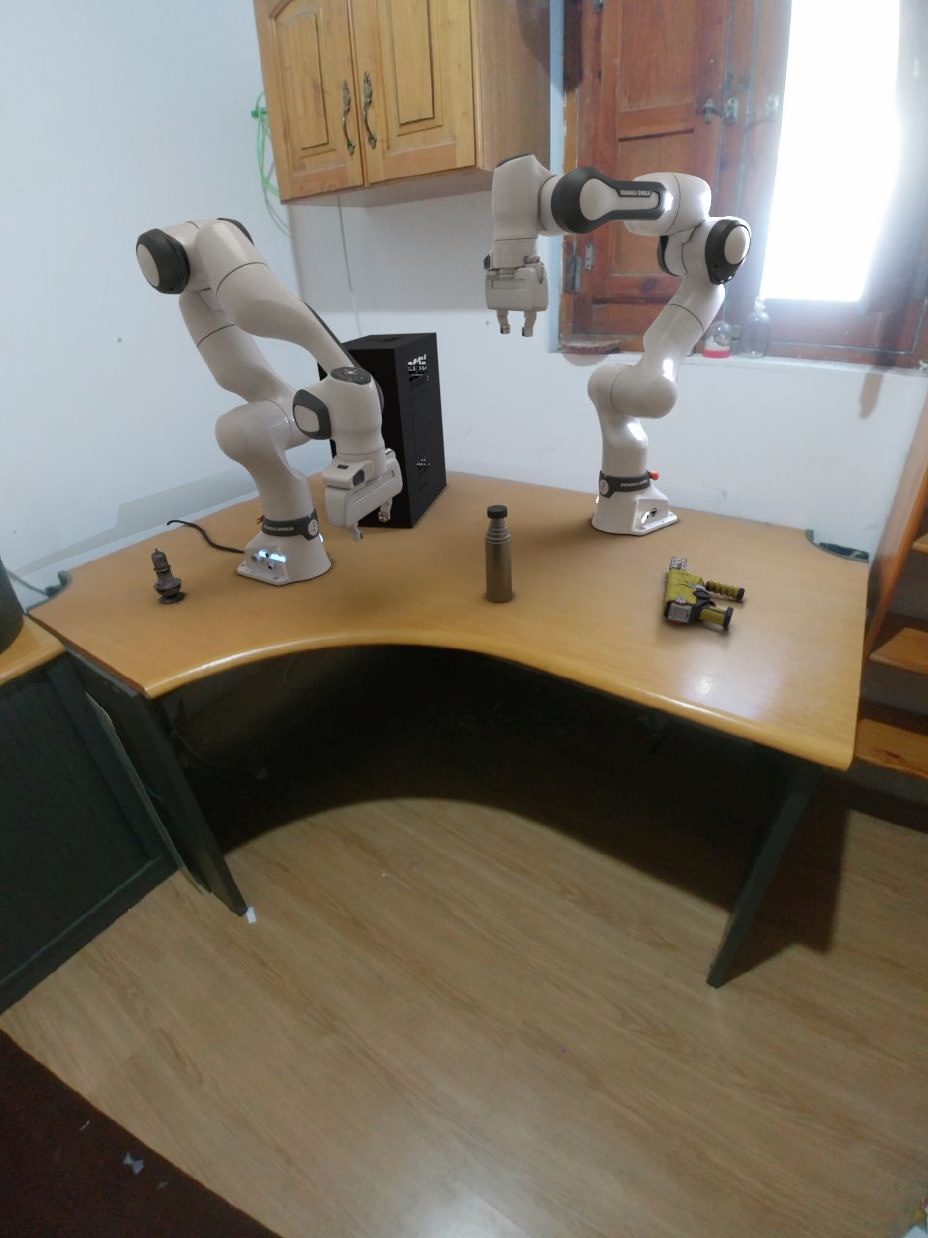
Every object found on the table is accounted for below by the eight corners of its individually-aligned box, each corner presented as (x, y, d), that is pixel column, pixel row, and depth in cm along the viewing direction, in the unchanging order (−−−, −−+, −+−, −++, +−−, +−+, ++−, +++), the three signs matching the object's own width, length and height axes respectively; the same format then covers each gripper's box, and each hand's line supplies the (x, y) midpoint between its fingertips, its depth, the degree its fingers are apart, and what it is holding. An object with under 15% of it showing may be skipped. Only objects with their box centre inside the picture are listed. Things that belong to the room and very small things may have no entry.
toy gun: (744, 566, 127) (671, 553, 131) (753, 616, 107) (666, 600, 111) (738, 586, 129) (666, 573, 133) (745, 639, 109) (660, 622, 113)
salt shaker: (175, 604, 132) (159, 554, 126) (152, 603, 133) (134, 553, 127) (191, 592, 137) (176, 543, 131) (168, 591, 138) (152, 542, 132)
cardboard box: (411, 527, 164) (393, 348, 142) (343, 525, 169) (314, 350, 146) (446, 484, 196) (436, 332, 173) (387, 483, 200) (370, 334, 178)
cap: (510, 513, 119) (510, 505, 119) (502, 520, 116) (502, 512, 116) (492, 511, 121) (492, 503, 120) (483, 517, 118) (483, 510, 117)
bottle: (515, 593, 129) (515, 507, 119) (505, 604, 125) (504, 516, 115) (493, 589, 131) (490, 504, 121) (482, 599, 127) (479, 513, 117)
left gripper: (379, 442, 120) (387, 506, 128) (314, 478, 106) (327, 548, 114) (406, 446, 118) (412, 511, 126) (343, 484, 103) (354, 555, 111)
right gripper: (557, 254, 111) (556, 336, 118) (505, 258, 127) (506, 331, 134) (528, 255, 109) (527, 339, 116) (478, 260, 125) (481, 333, 132)
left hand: (371, 529), depth 120 cm, fingers open, 8 cm apart
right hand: (516, 335), depth 125 cm, fingers open, 8 cm apart
